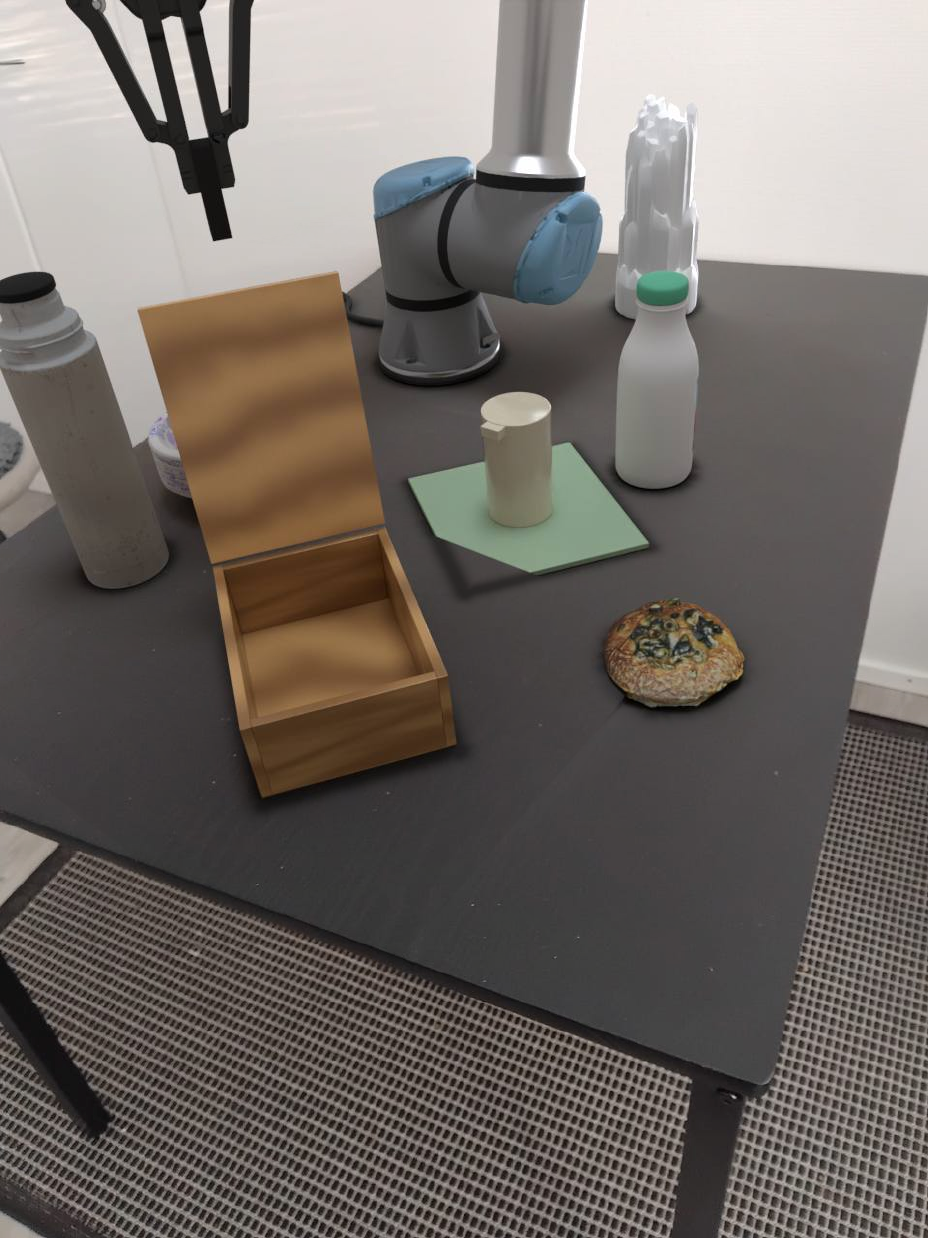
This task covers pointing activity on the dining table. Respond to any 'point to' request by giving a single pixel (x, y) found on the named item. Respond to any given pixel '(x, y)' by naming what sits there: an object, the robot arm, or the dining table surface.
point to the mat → (564, 540)
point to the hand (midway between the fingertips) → (221, 233)
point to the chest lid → (266, 413)
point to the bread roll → (671, 654)
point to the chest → (330, 661)
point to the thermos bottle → (78, 433)
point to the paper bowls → (168, 457)
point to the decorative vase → (658, 202)
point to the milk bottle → (657, 387)
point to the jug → (518, 458)
